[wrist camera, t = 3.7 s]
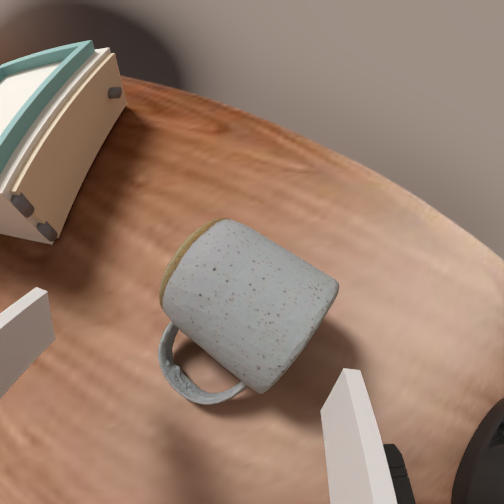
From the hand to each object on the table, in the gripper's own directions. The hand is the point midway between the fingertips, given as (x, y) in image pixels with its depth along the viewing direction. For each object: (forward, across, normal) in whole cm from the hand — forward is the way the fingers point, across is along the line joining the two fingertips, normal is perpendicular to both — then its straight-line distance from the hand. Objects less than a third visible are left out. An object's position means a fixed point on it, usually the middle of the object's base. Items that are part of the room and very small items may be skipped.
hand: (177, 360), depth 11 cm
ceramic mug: (+8, +2, -4) cm, 9 cm away
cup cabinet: (+16, -24, +4) cm, 29 cm away
